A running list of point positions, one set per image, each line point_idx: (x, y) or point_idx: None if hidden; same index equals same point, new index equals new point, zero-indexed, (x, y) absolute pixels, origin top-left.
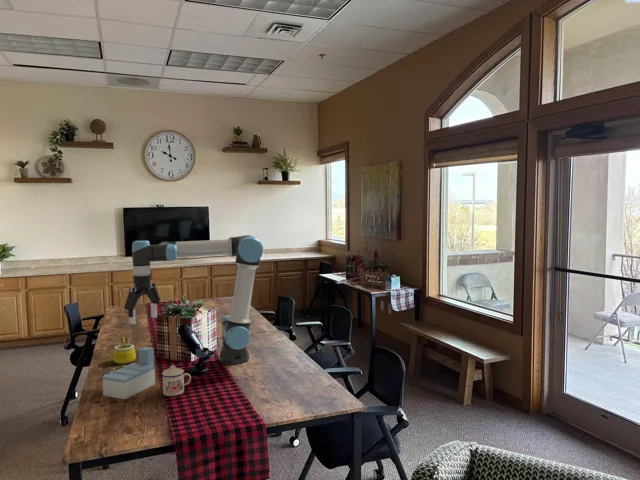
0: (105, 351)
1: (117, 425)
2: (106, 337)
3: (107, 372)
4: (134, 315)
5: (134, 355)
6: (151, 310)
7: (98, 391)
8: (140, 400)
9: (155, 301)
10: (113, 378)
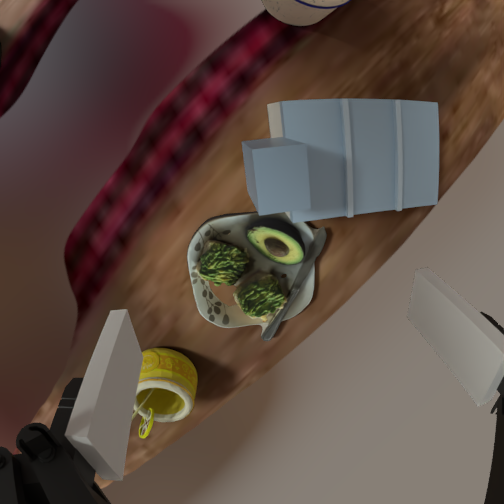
0: (151, 444)
1: (483, 29)
2: (104, 481)
3: (281, 319)
4: (475, 313)
5: (144, 358)
6: (130, 407)
7: (384, 227)
8: (387, 54)
9: (71, 471)
10: (438, 154)
